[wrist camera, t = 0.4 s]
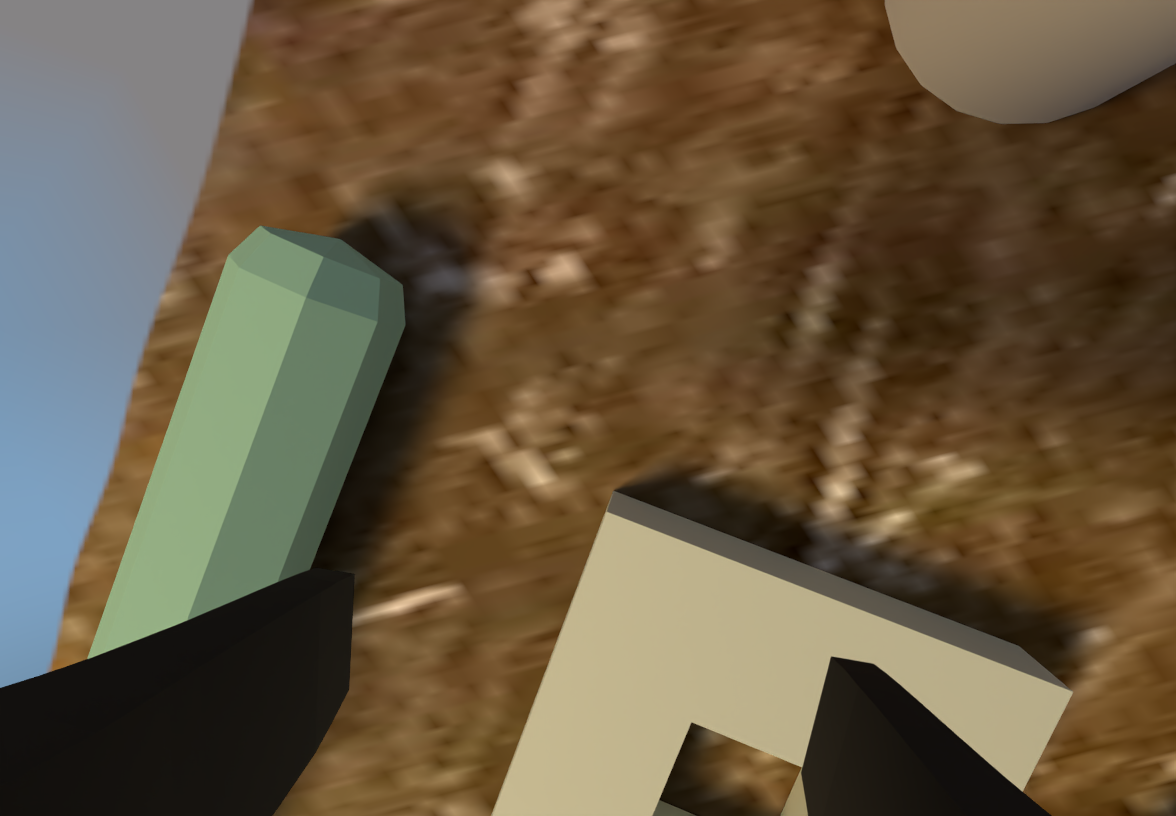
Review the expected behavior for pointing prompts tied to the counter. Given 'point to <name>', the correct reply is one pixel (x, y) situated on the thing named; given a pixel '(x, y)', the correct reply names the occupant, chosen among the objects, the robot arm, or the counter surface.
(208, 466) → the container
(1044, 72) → the can
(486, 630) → the counter surface
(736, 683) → the board
